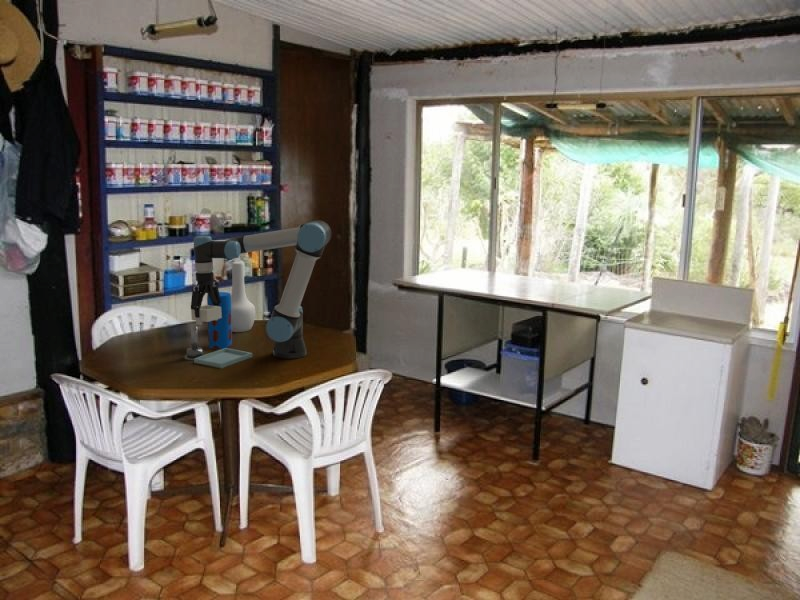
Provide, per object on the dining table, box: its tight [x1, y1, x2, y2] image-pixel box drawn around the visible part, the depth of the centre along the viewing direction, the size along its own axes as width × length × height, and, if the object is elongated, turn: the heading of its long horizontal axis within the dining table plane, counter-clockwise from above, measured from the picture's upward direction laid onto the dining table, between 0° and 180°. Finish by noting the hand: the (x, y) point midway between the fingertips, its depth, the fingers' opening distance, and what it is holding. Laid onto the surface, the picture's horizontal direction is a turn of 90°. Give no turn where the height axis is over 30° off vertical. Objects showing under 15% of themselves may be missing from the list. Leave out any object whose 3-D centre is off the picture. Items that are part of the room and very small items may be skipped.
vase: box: [230, 261, 256, 333], centre depth 364 cm, size 17×17×35 cm
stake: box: [184, 323, 205, 362], centre depth 315 cm, size 9×9×15 cm
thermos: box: [206, 291, 233, 350], centre depth 334 cm, size 11×11×25 cm
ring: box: [190, 304, 222, 323], centre depth 312 cm, size 11×9×5 cm
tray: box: [193, 347, 253, 369], centre depth 314 cm, size 15×20×2 cm
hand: (207, 322), depth 312 cm, fingers closed on ring, 9 cm apart
